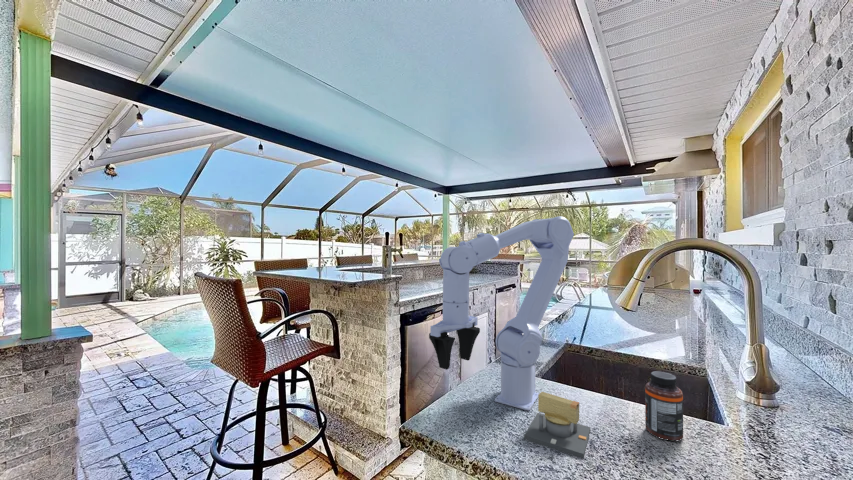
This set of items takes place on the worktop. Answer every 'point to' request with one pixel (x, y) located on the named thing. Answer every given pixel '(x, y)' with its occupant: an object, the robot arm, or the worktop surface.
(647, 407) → the supplement bottle
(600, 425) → the worktop surface
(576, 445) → the post base
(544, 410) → the lever handle
